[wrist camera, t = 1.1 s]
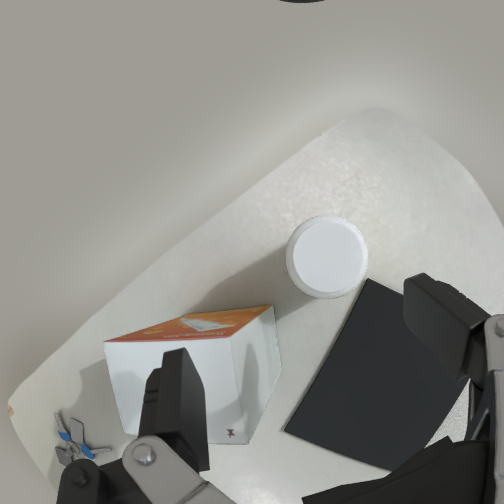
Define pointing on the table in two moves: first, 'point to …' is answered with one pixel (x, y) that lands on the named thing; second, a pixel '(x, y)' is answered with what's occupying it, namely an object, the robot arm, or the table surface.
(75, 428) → the key chain
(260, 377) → the small box
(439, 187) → the table surface
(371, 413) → the mat
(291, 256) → the supplement bottle
